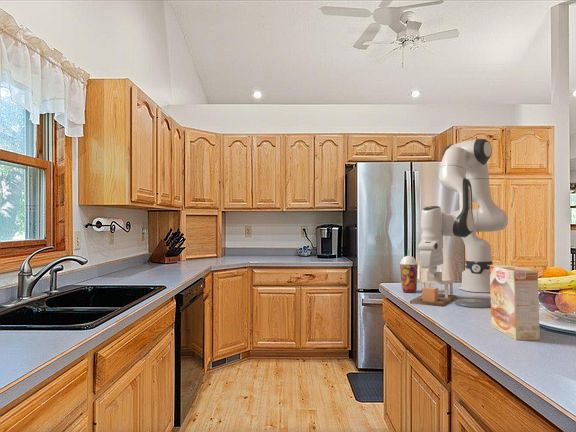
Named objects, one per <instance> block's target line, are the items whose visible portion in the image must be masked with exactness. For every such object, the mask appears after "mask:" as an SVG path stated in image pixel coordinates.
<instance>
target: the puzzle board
mask: <svg viewBox="0 0 576 432" xmlns="http://www.w3.org/2000/svg"><path fill="white" fill-rule="evenodd" d="M456 299H457V295H455V294H453V295H450V294H448V298H445V293H438V301H437V302H430V301H422V294H421V295H419V296H417V297H415V298H412V299H411V300H409V304H414V305H415V304H416V305H424V306H425V305H426V306H433V307H434V306H435V307H444V306H446V305H447V304H449V303H451V302H452V301H455V300H456Z"/></svg>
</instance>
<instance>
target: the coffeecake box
mask: <svg viewBox="0 0 576 432" xmlns="http://www.w3.org/2000/svg"><path fill="white" fill-rule="evenodd" d="M538 272H539V271H538V270H536V269H535V270H534V269H531V268H527V267H520V266H516V265H513V264H512V265H511V264H504V265H503V264H493V265H490V291H491V292H490V301H491V307H490V315H491V316H490V318H491V319H490V320H491V325H490V327H491V328H492V329H495V330H496V331H499V332H501V333H502V334H504V335H506V336H508V337H510V338H511V339H513V340H515V341H529V340H531V341H539V340H540V339H541V335H540V334H541V333H540V307H539V305H540V304H539V303H540V302H539V298H540V296H539V273H538Z"/></svg>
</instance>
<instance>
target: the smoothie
mask: <svg viewBox="0 0 576 432" xmlns="http://www.w3.org/2000/svg"><path fill="white" fill-rule="evenodd" d="M418 264H419V263H418V262H417V260H416V258H415V257H414V256H412V255H410V250H409V249H407V255H405V256H403V257H402V259H401V260H400V262H399V271H400V283H401V290H402V292H404V293H406V294H413V293H414V292H415V293H416V291H417V289H418V268H419V267H418Z"/></svg>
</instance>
